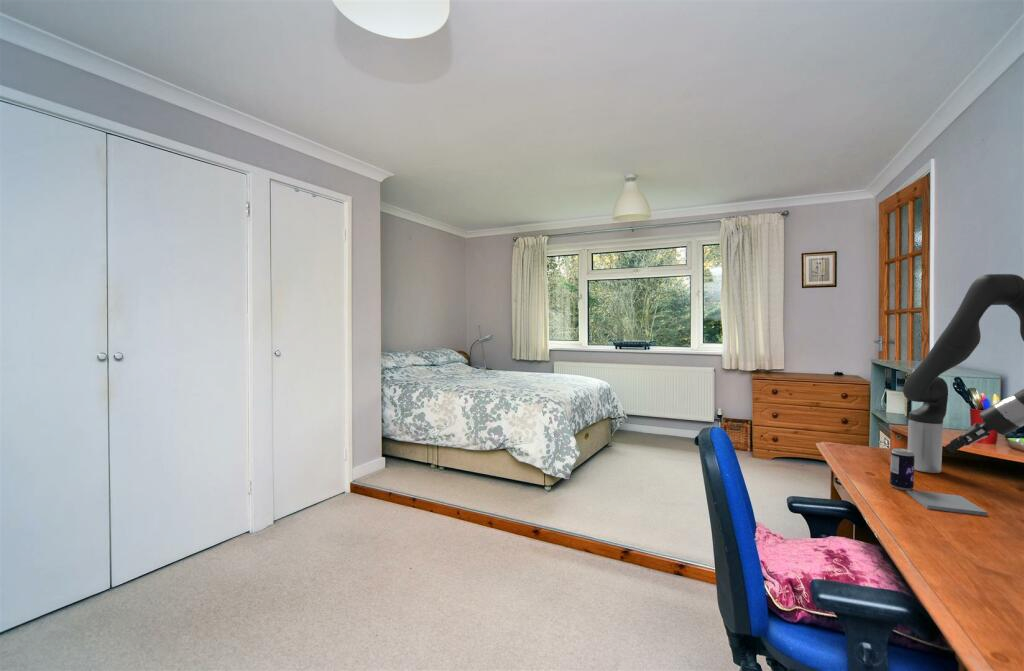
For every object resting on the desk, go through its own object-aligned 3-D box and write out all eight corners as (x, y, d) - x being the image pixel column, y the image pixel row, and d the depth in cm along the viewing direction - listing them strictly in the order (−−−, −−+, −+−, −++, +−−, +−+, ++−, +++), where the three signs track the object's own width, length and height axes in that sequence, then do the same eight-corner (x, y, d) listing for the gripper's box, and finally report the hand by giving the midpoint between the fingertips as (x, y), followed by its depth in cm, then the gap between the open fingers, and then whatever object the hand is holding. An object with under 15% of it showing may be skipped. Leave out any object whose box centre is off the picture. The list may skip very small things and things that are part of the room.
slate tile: (906, 493, 143) (906, 489, 143) (960, 499, 139) (960, 495, 139) (927, 508, 131) (927, 505, 131) (987, 515, 126) (987, 512, 126)
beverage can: (907, 492, 144) (909, 453, 143) (886, 486, 149) (887, 448, 148) (916, 489, 146) (918, 451, 146) (895, 483, 151) (896, 446, 151)
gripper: (997, 401, 136) (942, 433, 145) (992, 406, 127) (934, 440, 136) (1023, 422, 132) (965, 454, 141) (1020, 429, 123) (958, 462, 132)
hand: (950, 447), depth 139 cm, fingers open, 8 cm apart
